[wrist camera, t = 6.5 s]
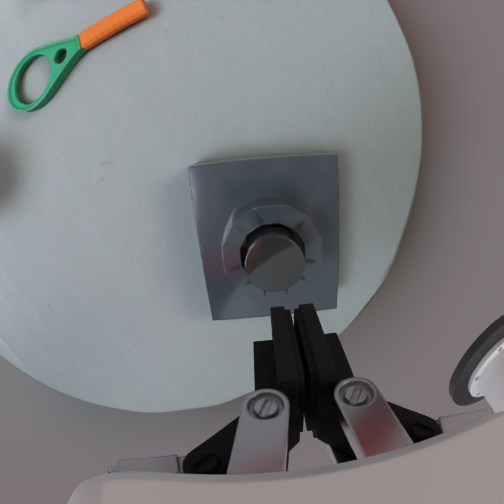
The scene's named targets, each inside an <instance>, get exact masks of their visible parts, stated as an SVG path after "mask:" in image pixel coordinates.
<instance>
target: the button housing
mask: <svg viewBox="0 0 504 504" xmlns="http://www.w3.org/2000/svg"><path fill="white" fill-rule="evenodd" d="M188 170H189V177H190V185H191V192H192V199H193V206H194V213H195V220H196V226H197V233H198V239H199V245H200V252H201V258H202V264H203V269H204V275H205V281H206V286H207V292H208V297H209V303H210V308H211V313H212V319H213V320H227V319H240V318H252V317H263V316H271V312H270V307H280V306H284V308H285V310H287V309H290V312H291V314H293V313H294V309H296V308H299V305H300V304H309V303H313V305H314V307H315V310H316V311H319V310H327V309H335V308H337V293H338V266H339V187H338V161H337V154H332V153H328V152H315V153H295V154H279V155H266V156H254V157H243V158H233V159H224V160H216V161H207V162H200V163H195V164H193V165H191V166H189V167H188ZM266 227H281V228H284V229H286V230H288V231H289V232H291V233H292V234H293V235H294V236H295V238H296V239H297V241H298V243H299V245H300V248H301V250H302V252H303V254H304V258H305V268H304V272H303V274H302V276H301V278H300V279H299V280H298V282H297V283H296V284H294V285H293V286H292V287H290V288H288V289H286V290H283V291H278V292H269V291H265V290H262V289H260V288H258V287H256V286H255V285H254V284H252V282H251V281H250V280H249V279H248V277H247V275H246V272H245V247H246V244H247V242H248V240H249V239H250V237H251V236H252V235H253V234H254V233H255V232H257V231H258V230H260V229H263V228H266Z"/></svg>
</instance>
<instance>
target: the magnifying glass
mask: <svg viewBox="0 0 504 504" xmlns="http://www.w3.org/2000/svg"><path fill="white" fill-rule="evenodd" d="M149 14H150V13H149V10H148V7H147V5H146V3H145V1H144V0H136V1H134V2H133V3H131V4H129V5H127V6H125V7H123V8H121V9H120V10H118V11H116V12H114V13H112V14H111V15H109V16H107V17H105V18H104V19H102V20H100V21H99V22H97V23H96V24H94V25H93V26H91V27H89V28H88V29H86V30H85V31H83V32H82V33H80V34H79V35H78V36H75V37H72V38H70V39H66V40H62V41H59V42H55V43H51V44H48V45H45V46H42V47H38V48H36V49H33V50H32V51H30V52H28V53H27V54H26V55H25V56H24V57H23V58H22V59H21V60H20V62H19V63H18V64H17V66H16V67H15V69H14V71H13V73H12V75H11V78H10V81H9V84H8V100H9V103H10V105H11V107H12V108H13V109H14V110H16V111H18V112H30V111H35V110H38V109H39V108H41V107H43V106H44V105H45V104H46V103H47V102H48V101H49V100H50V99H51V98H52V97H53V95H54V94H55V92H56V91H57V90H58V88H59V87H60V85H61V84H62V82H63V81H64V79H65V78H66V76H67V75H68V73H69V72H70V71H71V69H72V68H73V67H74V65H75V64H76V62H77V61H78V60H79V59H80V57H81V56H82V55H83V54H84V53H85V52H86V51H87V50H88V49H90V48H92V47H93V46H95V45H96V44H98V43H100V42H101V41H103V40H105V39H106V38H108V37H110V36H112V35H113V34H115V33H117V32H118V31H120V30H122V29H124V28H125V27H128V26H129V25H131V24H133V23H135V22H137V21H139V20H141V19H143V18H145V17H147V16H149ZM65 50H67V56H66V58H65V60H64V61H63V62H62V63H59V56H60V55H61V53H62V52H63V51H65ZM43 55H44V56H46V57H47V58H48V59H49V62H50V66H51V73H50V78H49V82H48V85H47V87H46V89H45V91H44V92H43V94H42V95H41V96H40V98H38V99H37V100H36V101H35V102H33V103H31V104H28V103H25V102H24V101H23V100H22V98H21V95H20V80H21V76H22V74H23V72H24V70H25V68H26V67H27V65H28V64H29V63H30V62H31V61H32V60H33V59H35V58H36V57H38V56H43Z"/></svg>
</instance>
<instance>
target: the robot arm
mask: <svg viewBox="0 0 504 504" xmlns="http://www.w3.org/2000/svg"><path fill="white" fill-rule="evenodd" d="M270 312H271V325H272V339H273V340H267V341H255V342H254V377H255V391H254V392H252V393H251V394H249V395H248V396H247V397H246V398H245V399H244V401H243V404H242V408H241V412H240V416H239V417H237V418H236V419H235V420H233V421H232V422H231V423H229V424H228V425H227V426H226V427H224V428H223V429H221V430H220V431H219V432H217V433H216V434H215V435H213V436H212V437H211V438H209V439H208V440H206V441H205V442H204V443H202V444H201V445H199V446H198V447H196V448H195V449H194V450H192V451H191V452H190V453H188V454H187V455H186V456H182V457H177V455H169V456H161V457H149V458H137V459H123V460H118V461H117V462H115V463H113V464H112V466H111V467H110V468H109V471H108V474H105V475H100V476H96V477H93V478H90V479H87V480H85V481H84V482H82V483H81V484H80V485H79V486H78V487H77V488H76V489H75V491H74V492H73V494H72V495H71V497H70V499H69V501H68V503H67V504H504V337H503V338H502V339H501V340H499V341H498V342H497V343H496V344H495V345H494V346H493V347H492V348H491V349H490V350H489V351H488V352H487V353H486V354H485V356H484V357H483V358H482V359H481V361H480V362H479V363H478V365H477V366H476V368H475V370H474V371H473V373H472V375H471V377H470V380H469V383H468V391H469V392H470V394H471V395H472V396H473V397H481V396H484V397H485V398H486V400H487V401H488V403H489V404H490V405H491V407H492V409H493V410H494V412H495V413H494V414H493V413H492V412H491V411H488V410H477V411H472V412H467V413H462V414H456V415H450V416H443V417H439V419H438V420H434V419H432V418H430V417H428V416H425V415H422V414H419V413H417V412H414V411H411V410H408V409H406V408H403V407H401V406H398V405H396V404H393V403H390V402H388V401H386V400H385V399H384V397H383V395H382V394H381V392H380V391H379V390H378V388H377V387H376V385H375V384H374V383H373V382H371V381H370V380H368V379H365V378H362V377H354V376H353V373H352V371H351V368H350V365H349V363H348V360H347V358H346V355H345V353H344V350H343V348H342V345H341V343H340V340H339V338H338V336H337V334H336V333H329V334H324V332H323V330H322V327H321V324H320V321H319V318H318V316H317V313H316V310H315V307H314V305H313V303H309V304H300V305H299V308H296V309H294V325H293V321H292V316H291V312H290V309H287V310H285V308H284V306H280V307H270ZM304 417H305V423H306V428H307V431H311V430H312V432H313V437H314V438H318V439H319V440H321V441H323V442H324V443H326V448H327V451H328V453H329V456H330V458H331V461H332V463H333V465H328V466H322V467H316V468H309V469H302V470H293V471H289V459H290V450H291V449H292V448H293V447H294V446H295V445H296V444H297V443H298V442H299V440H300V432H303V420H304Z"/></svg>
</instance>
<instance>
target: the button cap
mask: <svg viewBox="0 0 504 504" xmlns="http://www.w3.org/2000/svg"><path fill="white" fill-rule="evenodd" d="M304 268H305V258H304V254H303V252H302V250H301V248H300V245H299V243H298V241H297V239H296V238H295V236H294V235H293V234H292V233H291V232H289V231H288V230H286V229H284V228H281V227H266V228H263V229H260V230H258V231H257V232H255V233H254V234H253V235H252V236H251V237H250V239H249V240H248V242H247V244H246V247H245V272H246V275H247V277H248V279H249V280H250V281H251V282H252V284H254V285H255V286H256V287H258V288H260V289H262V290H265V291H269V292H278V291H283V290H286V289H288V288H290V287H292V286H293V285H294V284H296V283H297V282H298V280H299V279H300V278H301V276H302V274H303V272H304Z"/></svg>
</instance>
